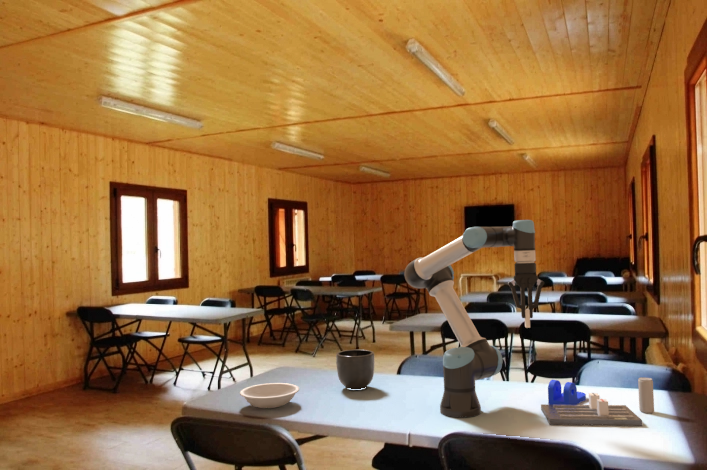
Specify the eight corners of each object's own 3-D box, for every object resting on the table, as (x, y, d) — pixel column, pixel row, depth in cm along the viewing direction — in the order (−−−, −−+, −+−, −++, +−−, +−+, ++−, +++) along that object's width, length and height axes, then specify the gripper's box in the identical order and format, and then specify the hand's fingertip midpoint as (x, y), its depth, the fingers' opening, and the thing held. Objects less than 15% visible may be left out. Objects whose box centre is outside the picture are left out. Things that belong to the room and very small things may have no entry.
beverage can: (648, 414, 206) (647, 381, 206) (636, 411, 210) (635, 378, 210) (657, 412, 208) (655, 379, 208) (645, 409, 212) (643, 376, 212)
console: (549, 424, 198) (549, 417, 198) (541, 409, 216) (540, 402, 216) (642, 426, 193) (642, 418, 193) (625, 410, 211) (625, 403, 211)
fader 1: (591, 409, 207) (590, 395, 207) (589, 407, 210) (588, 392, 210) (600, 409, 206) (599, 395, 206) (597, 407, 209) (597, 392, 209)
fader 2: (599, 416, 199) (599, 401, 199) (597, 413, 202) (596, 398, 202) (608, 416, 198) (608, 401, 198) (606, 413, 201) (605, 398, 201)
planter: (375, 393, 248) (374, 355, 248) (336, 394, 248) (335, 357, 249) (375, 383, 265) (373, 348, 266) (337, 384, 266) (336, 349, 266)
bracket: (569, 408, 217) (568, 384, 217) (548, 404, 223) (547, 381, 223) (589, 398, 229) (588, 376, 230) (569, 395, 235) (568, 373, 236)
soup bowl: (228, 408, 232) (227, 391, 233) (274, 395, 250) (274, 380, 250) (265, 418, 216) (264, 401, 216) (312, 404, 234) (311, 388, 234)
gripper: (507, 263, 206) (510, 328, 206) (545, 262, 204) (548, 328, 203) (505, 262, 213) (507, 325, 213) (541, 261, 211) (544, 325, 211)
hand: (527, 327), depth 208 cm, fingers closed
